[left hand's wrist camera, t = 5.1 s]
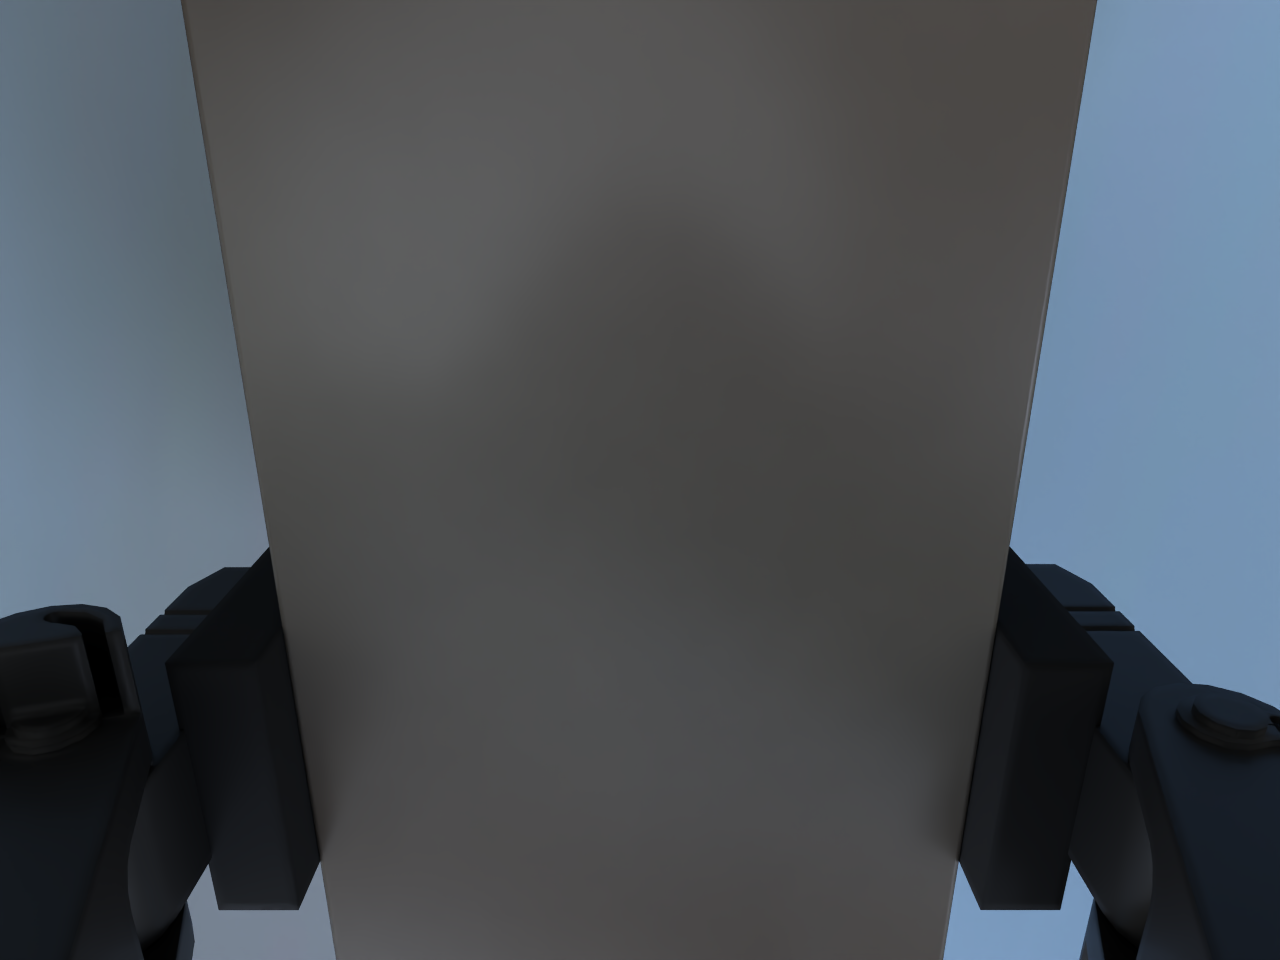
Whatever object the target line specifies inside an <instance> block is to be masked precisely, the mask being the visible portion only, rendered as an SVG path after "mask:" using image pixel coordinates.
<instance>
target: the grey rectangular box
mask: <svg viewBox="0 0 1280 960" xmlns="http://www.w3.org/2000/svg"><path fill="white" fill-rule="evenodd" d="M181 4H182V10H183V16H184V23H185V29H186V35H187V41H188V47H189V53H190V60H191V66H192V72H193V78H194V84H195V90H196V97H197V103H198V109H199V115H200V121H201V127H202V134H203V140H204V146H205V152H206V158H207V165H208V171H209V177H210V183H211V189H212V195H213V202H214V208H215V214H216V220H217V226H218V232H219V239H220V245H221V251H222V257H223V263H224V269H225V276H226V282H227V288H228V294H229V300H230V307H231V313H232V319H233V325H234V331H235V337H236V344H237V350H238V356H239V362H240V368H241V374H242V381H243V387H244V393H245V399H246V405H247V412H248V418H249V424H250V430H251V436H252V442H253V449H254V455H255V461H256V467H257V473H258V479H259V486H260V492H261V498H262V504H263V510H264V516H265V523H266V529H267V535H268V541H269V547H270V554H271V560H272V566H273V572H274V578H275V584H276V591H277V597H278V603H279V609H280V615H281V621H282V628H283V634H284V640H285V646H286V652H287V659H288V665H289V671H290V677H291V683H292V689H293V696H294V702H295V708H296V714H297V720H298V726H299V733H300V739H301V745H302V751H303V757H304V763H305V770H306V776H307V782H308V788H309V794H310V801H311V807H312V813H313V819H314V825H315V831H316V838H317V844H318V850H319V856H320V862H321V868H322V875H323V881H324V887H325V893H326V899H327V905H328V912H329V918H330V924H331V930H332V936H333V943H334V949H335V955H336V960H943V956H944V950H945V943H946V937H947V931H948V925H949V918H950V912H951V906H952V900H953V894H954V887H955V881H956V875H957V869H958V862H959V856H960V850H961V844H962V838H963V831H964V825H965V819H966V813H967V806H968V800H969V794H970V788H971V782H972V775H973V769H974V763H975V757H976V750H977V744H978V738H979V732H980V726H981V719H982V713H983V707H984V701H985V695H986V688H987V682H988V676H989V670H990V663H991V657H992V651H993V645H994V639H995V632H996V626H997V620H998V614H999V607H1000V601H1001V595H1002V589H1003V583H1004V576H1005V570H1006V564H1007V558H1008V551H1009V545H1010V539H1011V533H1012V527H1013V520H1014V514H1015V508H1016V502H1017V495H1018V489H1019V483H1020V477H1021V471H1022V464H1023V458H1024V452H1025V446H1026V439H1027V433H1028V427H1029V421H1030V415H1031V408H1032V402H1033V396H1034V390H1035V384H1036V377H1037V371H1038V365H1039V359H1040V352H1041V346H1042V340H1043V334H1044V328H1045V321H1046V315H1047V309H1048V303H1049V296H1050V290H1051V284H1052V278H1053V272H1054V265H1055V259H1056V253H1057V247H1058V240H1059V234H1060V228H1061V222H1062V216H1063V209H1064V203H1065V197H1066V191H1067V184H1068V178H1069V172H1070V166H1071V160H1072V153H1073V147H1074V141H1075V135H1076V128H1077V122H1078V116H1079V110H1080V104H1081V97H1082V91H1083V85H1084V79H1085V73H1086V66H1087V60H1088V54H1089V48H1090V41H1091V35H1092V29H1093V23H1094V17H1095V10H1096V4H1097V0H181Z"/></svg>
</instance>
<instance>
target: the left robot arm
mask: <svg viewBox="0 0 1280 960" xmlns="http://www.w3.org/2000/svg"><path fill="white" fill-rule="evenodd" d="M145 631H146V632H145V635H139V636H138V637H137V638H136V639H135V640H134V641H133V642H132V643H131V644H130V645H129V646H128V647H127V644H126V639H125V635H124V631H123V627H122V622H121V618H120V616H118V615H117V614H115V613H114V612H112V611H111V610H109V609H108V608H104V607H98V606H91V605H85V604H76V605H60V606H49V607H44V608H39V609H35V610H30V611H25V612H20V613H16V614H13V615H10V616H7V617H4V618H1V619H0V960H192V955H193V949H194V942H195V941H194V934H193V926H192V921H191V916H190V912H189V908H188V904H187V899H188V897H189V896H190V894H191V892H192V890H193V889H194V887H195V885H196V884H197V882H198V880H199V879H200V877H201V875H202V874H203V872H204V870H205V869H206V867H207V865H208V863H209V868H210V872H211V877H212V881H213V886H214V890H215V895H216V900H217V904H218V909H219V910H299V908H300V906H301V903H302V901H303V899H304V896H305V894H306V892H307V890H308V887H309V885H310V883H311V881H312V878H313V876H314V874H315V871H316V869H317V867H318V865H319V862H320V856H319V850H318V844H317V838H316V831H315V825H314V819H313V813H312V807H311V801H310V794H309V788H308V782H307V776H306V770H305V763H304V757H303V751H302V745H301V739H300V733H299V726H298V720H297V714H296V708H295V702H294V696H293V689H292V683H291V677H290V671H289V665H288V659H287V652H286V646H285V640H284V634H283V628H282V621H281V615H280V609H279V603H278V597H277V591H276V584H275V578H274V572H273V566H272V560H271V554H270V547H269V548H268V549H267V550H266V551H265V552H264V553H263V554H262V555H261V557H260V558H259V559H258V560H257V561H256V562H255V563H254V564H253V565H252V567H224V568H222V569H221V570H219V571H217V572H215V573H213V574H211V575H209V576H208V577H206V578H204V579H202V580H200V581H198V582H196V583H195V584H193V585H191V586H189V587H188V588H187V589H186V590H185V591H184V592H183V593H182V594H181V595H180V596H179V597H178V598H177V599H176V600H175V601H174V602H173V603H172V604H171V605H170V606H169V607H168V608H167V609H165V614H164V615H159V616H158V617H157V618H156V619H155V620H154V621H153V622H152V623H151V624H150V625H149V626H148V627H147V628H146V629H145ZM1071 860H1072V862H1073V864H1074V865H1075V867H1076V869H1077V870H1078V872H1079V874H1080V875H1081V877H1082V879H1083V880H1084V882H1085V884H1086V885H1087V887H1088V889H1089V890H1090V892H1091V894H1092V896H1093V897H1094V899H1093V904H1092V908H1091V912H1090V916H1089V921H1088V925H1087V929H1086V933H1085V938H1084V942H1083V946H1082V950H1081V955H1080V959H1079V960H1280V710H1278V709H1277V708H1275V707H1273V706H1271V705H1268V704H1266V703H1264V702H1261V701H1259V700H1256V699H1254V698H1252V697H1249V696H1247V695H1244V694H1242V693H1238V692H1234V691H1230V690H1226V689H1222V688H1218V687H1214V686H1210V685H1201V684H1192V683H1191V682H1190V681H1189V680H1188V679H1187V678H1186V677H1185V676H1184V675H1183V674H1182V673H1181V672H1180V671H1179V670H1178V669H1177V668H1176V667H1175V666H1174V665H1173V664H1172V663H1171V662H1170V661H1169V660H1168V659H1167V658H1166V657H1165V656H1164V655H1163V654H1162V653H1161V652H1160V651H1159V650H1158V649H1157V648H1156V647H1155V646H1154V645H1153V644H1152V643H1151V642H1150V641H1149V640H1148V639H1147V638H1146V637H1145V636H1144V635H1143V634H1142V633H1141V632H1140V631H1135V630H1134V625H1133V624H1132V623H1131V622H1130V621H1129V620H1128V619H1127V618H1126V617H1125V616H1124V615H1123V614H1122V613H1121V612H1120V611H1115V606H1114V605H1113V604H1112V603H1111V602H1110V601H1109V600H1108V599H1107V598H1106V597H1105V596H1104V595H1103V594H1102V593H1100V592H1099V591H1098V590H1097V589H1096V588H1095V587H1094V586H1093V585H1092V584H1091V583H1089V582H1087V581H1085V580H1084V579H1082V578H1080V577H1078V576H1076V575H1074V574H1072V573H1071V572H1069V571H1067V570H1065V569H1063V568H1061V567H1059V566H1057V565H1056V564H1025V563H1024V562H1023V561H1022V560H1021V559H1020V558H1019V556H1018V555H1017V554H1016V553H1015V552H1014V551H1013V550H1012V549H1011V548H1010V546H1009V551H1008V558H1007V564H1006V570H1005V576H1004V583H1003V589H1002V595H1001V601H1000V607H999V614H998V620H997V626H996V632H995V639H994V645H993V651H992V657H991V663H990V670H989V676H988V682H987V688H986V695H985V701H984V707H983V713H982V719H981V726H980V732H979V738H978V744H977V750H976V757H975V763H974V769H973V775H972V782H971V788H970V794H969V800H968V806H967V813H966V819H965V825H964V831H963V838H962V844H961V850H960V856H959V862H960V864H961V867H962V869H963V871H964V873H965V876H966V878H967V880H968V882H969V885H970V887H971V889H972V892H973V894H974V896H975V898H976V901H977V903H978V905H979V907H980V910H1060V909H1061V904H1062V900H1063V895H1064V891H1065V886H1066V881H1067V877H1068V872H1069V868H1070V863H1071Z"/></svg>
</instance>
